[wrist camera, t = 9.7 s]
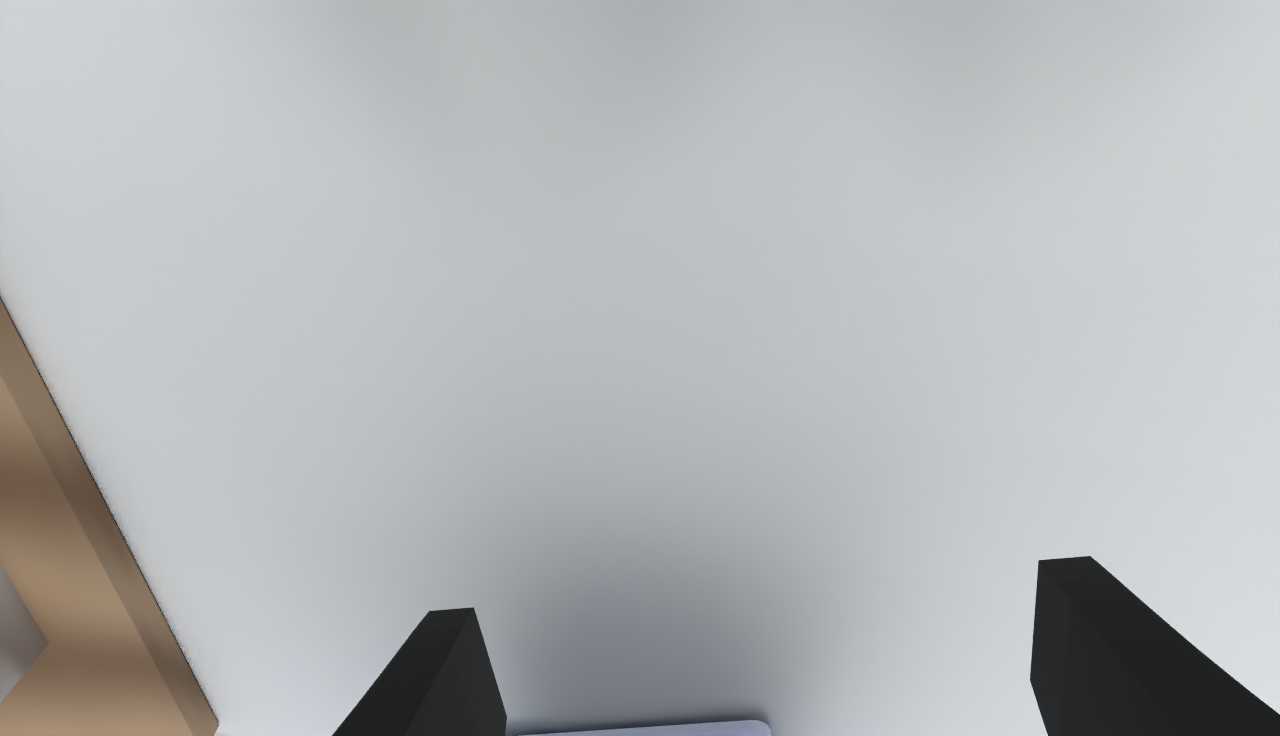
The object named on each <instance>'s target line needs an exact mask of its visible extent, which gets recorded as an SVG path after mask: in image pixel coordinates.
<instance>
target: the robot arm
mask: <svg viewBox="0 0 1280 736" xmlns="http://www.w3.org/2000/svg"><path fill="white" fill-rule="evenodd" d="M1030 681H1031V684H1032V687H1033V691H1034V694H1035V697H1036V700H1037V703H1038V706H1039V709H1040V713H1041V716H1042V719H1043V722H1044V725H1045V728H1046V731H1047V734H1048V736H1280V715H1279V714H1278V713H1277V712H1276V711H1274V710H1273V709H1272V708H1270V707H1269V706H1268V705H1267V704H1265V703H1264V702H1263V701H1261V700H1260V699H1259V698H1258V697H1256V696H1255V695H1254V694H1252V693H1251V692H1250V691H1249V690H1247V689H1246V688H1245V687H1244V686H1243V685H1241V684H1240V683H1239V682H1238V681H1236V680H1235V679H1234V678H1233V677H1231V676H1230V675H1229V674H1228V673H1227V672H1225V671H1224V670H1223V669H1222V668H1220V667H1219V666H1218V665H1217V664H1215V663H1214V662H1213V661H1212V660H1211V659H1209V658H1208V657H1207V656H1206V655H1204V654H1203V653H1202V652H1201V651H1200V650H1198V649H1197V648H1196V647H1195V646H1194V645H1192V644H1191V643H1190V642H1189V641H1188V640H1186V639H1185V638H1184V637H1183V636H1182V635H1181V634H1179V633H1178V632H1177V631H1176V630H1175V629H1174V628H1172V627H1171V626H1170V625H1169V624H1168V623H1167V622H1166V621H1164V620H1163V619H1162V618H1161V617H1160V616H1159V615H1157V614H1156V613H1155V612H1154V611H1153V610H1152V609H1150V608H1149V607H1148V606H1147V605H1146V604H1145V603H1144V602H1142V601H1141V600H1140V599H1139V598H1138V597H1137V596H1136V595H1135V594H1133V593H1132V592H1131V591H1130V590H1129V589H1128V588H1127V587H1125V586H1124V585H1123V584H1122V583H1121V582H1120V581H1119V580H1117V579H1116V578H1115V577H1114V576H1113V575H1112V574H1111V573H1109V572H1108V571H1107V570H1106V569H1105V568H1104V567H1102V566H1101V565H1100V564H1099V563H1098V562H1097V561H1095V560H1094V559H1093V558H1092V557H1091V556H1086V557H1074V558H1062V559H1050V560H1039V563H1038V577H1037V591H1036V605H1035V619H1034V633H1033V646H1032V660H1031V674H1030ZM506 720H507V715H506V712H505V709H504V706H503V702H502V699H501V696H500V692H499V689H498V686H497V682H496V679H495V676H494V673H493V669H492V666H491V663H490V659H489V656H488V653H487V649H486V646H485V643H484V640H483V636H482V633H481V630H480V626H479V623H478V620H477V616H476V613H475V610H474V607H473V608H461V609H449V610H437V611H429V612H428V614H427V615H426V616H425V617H424V618H423V620H422V621H421V622H420V623H419V625H418V626H417V627H416V628H415V630H414V631H413V632H412V634H411V635H410V636H409V637H408V639H407V640H406V641H405V643H404V644H403V645H402V647H401V648H400V649H399V651H398V652H397V653H396V655H395V656H394V657H393V658H392V660H391V661H390V662H389V664H388V665H387V666H386V668H385V669H384V670H383V672H382V673H381V674H380V676H379V677H378V678H377V679H376V681H375V682H374V683H373V685H372V686H371V687H370V689H369V690H368V691H367V692H366V694H365V695H364V696H363V698H362V699H361V700H360V701H359V703H358V704H357V705H356V706H355V708H354V709H353V710H352V711H351V713H350V714H349V715H348V716H347V718H346V719H345V720H344V721H343V723H342V724H341V725H340V726H339V727H338V729H337V730H336V731H335V732H334V734H333V735H332V736H505V730H506ZM520 736H772V735H771V730H770V727H769V726H768V725H767V724H766V723H764V722H761V721H759V720H741V721H727V722H712V723H697V724H682V725H668V726H653V727H638V728H623V729H609V730H594V731H579V732H564V733H550V734H535V735H520Z"/></svg>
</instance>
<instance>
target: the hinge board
mask: <svg viewBox="0 0 1280 736" xmlns="http://www.w3.org/2000/svg"><path fill="white" fill-rule="evenodd" d="M218 726H219V724H218V722H217V720H216V718H215V716H214V714H213V712H212V710H211V708H210V707H209V705H208V703H207V701H206V699H205V697H204V695H203V693H202V691H201V689H200V687H199V685H198V683H197V681H196V679H195V677H194V675H193V673H192V671H191V670H190V668H189V666H188V664H187V662H186V660H185V658H184V656H183V654H182V652H181V650H180V648H179V646H178V644H177V642H176V640H175V638H174V636H173V634H172V632H171V631H170V629H169V627H168V625H167V623H166V621H165V619H164V617H163V615H162V613H161V611H160V609H159V607H158V605H157V603H156V601H155V599H154V597H153V595H152V594H151V592H150V590H149V588H148V586H147V584H146V582H145V580H144V578H143V576H142V574H141V572H140V570H139V568H138V566H137V564H136V562H135V560H134V558H133V556H132V555H131V553H130V551H129V549H128V547H127V545H126V543H125V541H124V539H123V537H122V535H121V533H120V531H119V529H118V527H117V525H116V523H115V521H114V519H113V518H112V516H111V514H110V512H109V510H108V508H107V506H106V504H105V502H104V500H103V498H102V496H101V494H100V492H99V490H98V488H97V486H96V484H95V482H94V480H93V479H92V477H91V475H90V473H89V471H88V469H87V467H86V465H85V463H84V461H83V459H82V457H81V455H80V453H79V451H78V449H77V447H76V445H75V443H74V442H73V440H72V438H71V436H70V434H69V432H68V430H67V428H66V426H65V424H64V422H63V420H62V418H61V416H60V414H59V412H58V410H57V408H56V406H55V404H54V403H53V401H52V399H51V397H50V395H49V393H48V391H47V389H46V387H45V385H44V383H43V381H42V379H41V377H40V375H39V373H38V371H37V369H36V367H35V366H34V364H33V362H32V360H31V358H30V356H29V354H28V352H27V350H26V348H25V346H24V344H23V342H22V340H21V338H20V336H19V334H18V332H17V330H16V328H15V327H14V325H13V323H12V321H11V319H10V317H9V315H8V313H7V311H6V309H5V307H4V305H3V303H2V301H1V299H0V736H213V735H214V734H215V732H216V730H217V728H218Z"/></svg>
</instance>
